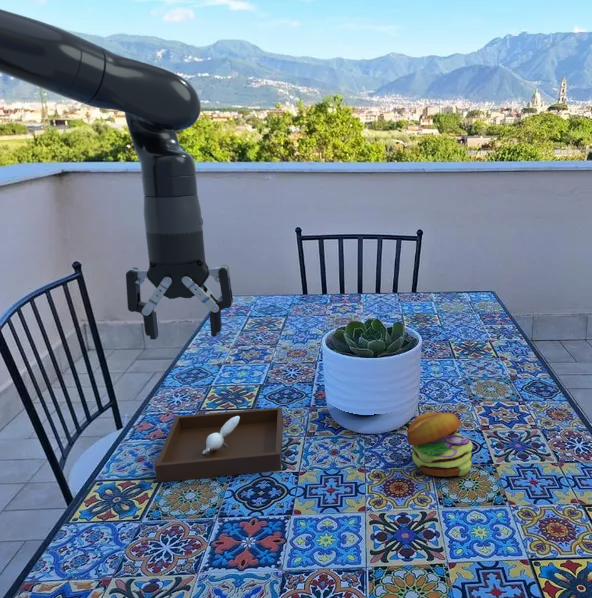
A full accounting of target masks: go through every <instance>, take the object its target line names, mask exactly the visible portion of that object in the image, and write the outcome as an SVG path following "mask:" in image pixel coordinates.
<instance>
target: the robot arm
mask: <svg viewBox="0 0 592 598" xmlns="http://www.w3.org/2000/svg"><path fill="white" fill-rule="evenodd" d="M0 73H1V74H4V75H5V76H9V77H11V78H14V79H16V80H18V81H19V80H20V81H22V82H25V83H27V84H29V85H32V86H34V87H38V88H40V89H42V90H45V91H47V92H51V93H54V94H56V95H59V96H61V97H64V98H67V99H69V100H72V101H75V102H78V103H81V104H84V105H86V106H89V107H93V108H97V109H101V110H113V111H118V112H122V113H124V117H125V120H126V121H125V122H126V125H127V130H128V132H129V135H130V138H131V142H132V145H133V147H134V148H133V149H134V150H135V153H136V155H137V158H138V161H139V164H140V174H141V184H142V192H143V219H144V229H145V238H146V245H147V255H148V262H149V266H148V269H139V268H138V267H131V268H130V269H129V270H128V271H127V272H126V273H125V283H126V302H127V310H128V311H129V312H131V313H139V314H140V315H142V317H143V326H144V333H145V335H146V337H149V339H150V340H157V339H158V337H159V325H158V317H157V311H155V308H156V306H157V305H158V304H159V302H160V301H161V300H162V298H163V297H165V298H167V299H168V300H175V299H178V298H181V299H192V298H193V297H196V298H197V299H198V300H199V301H200V303H203V304H204V305H205V306H206V307H207V308H208V309H209V310H210V311H209V313H208V314H209V324H210V336H211V337H212V338H213V337H217V336H218V334H219V333H221V330H222V328H223V322H222V310H224V309H229V308H231V307H232V304H233V302H234V298H233V290H232V282H231V276H230V269H229V266H228V265H226V264H222V265H221V266H218V267H209V266H208V264H207V262H206V254H205V253H206V252H205V241H204V230H203V225H204V220H203V217H202V209H201V205H200V200H199V195H198V182H197V171H196V165H195V160H194V157H193V156H192V155H191V154H190V153H189V152H188V151H185V150H183V149H182V147H181V145H180V141H179V137H178V134H177V132H181V131H185V130H187V129H189V128H191V127H192V126H193V125H194V124H195V123H197V121H198V119H199V118H200V115H201V111H202V104H201V98H200V96H199V94H198V92H197V90H196V89H195V88H194V86H193V85H192V84H191V83H190V82H189V81H188V80H186V79H185V78H184V77H182V76H181V75H180V74H177V73H174V72H173V71H170V70H167V69H165V68H162V67H159V66H156V65H152V64H149V63H146V62H143V61H140V60H137V59H134V58H129V57H126V56H122V55H120V54H117V53H114V52H112V51H110V50H108V49H106V48H105V47H103V46H101V45H98V44H96V43H94V42H91V41H89V40H87V39H85V38H83V37H80V36H78V35H76V34H74V33H72V32H69V31H67V30H65V29H62V28H60V27H58V26H55V25H53V24H50V23H47V22H44V21H41V20H38V19H34V18H32V17H29V16H28V17H27V16H24V15H22V14H18V13H14V12H11V11H7V10H5V9H1V8H0ZM210 276H211V277H212V278H213V279H214V281H215V282H216V283H219V286H220V293H221V299H218V298H217V297H216V296H215V295H214V293H213V292H212V291H211V289H210V288H209V287H208V286H207V285H206V284H205V283H206V281H207V279H209V277H210ZM146 278H147V280H148V281H149V282H150V283H151V284H152V285H153V286H154V287H155V288H156V289H155V290H154V291H153V293H152V294H151V296H150V297H149V299H148V301H147V302H144V301H142V296H141V285H143V283H144V282H145V280H146Z"/></svg>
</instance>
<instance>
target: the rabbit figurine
mask: <svg viewBox="0 0 592 598" xmlns="http://www.w3.org/2000/svg"><path fill="white" fill-rule="evenodd" d="M239 419H240V417H239V416H235V417H233V418H231V419H230V420H228V421H227V422H226V423H225V424H224V425H223V427H222V428H221V431H220V433H213V434H210V435H209V436H208V437H207V440H206V446H207V447H206V450H204V451H203V453H202V454H206V453H207V452H209V450H217V449H219V448H220V447H221V446H222V444H223V441H224V438H223V437H224V436H226V435H227V434H229V433H230V432H232V431H233V430H234V428H235V427H236V426H237V424H238V422H239ZM224 445H226V446H227V447H228V445H227V444H225V443H224Z"/></svg>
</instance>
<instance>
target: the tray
mask: <svg viewBox="0 0 592 598" xmlns="http://www.w3.org/2000/svg"><path fill="white" fill-rule="evenodd" d="M235 416H239V417H240V419H239V422H238V424H237V426H236V427H235V428H234V430H233V431H232V432H230V433H229V434H227V435H226V436H224V437H223V438H224V441H223V444H222V446H221V447H220V448H219V449H217V450H209V452H207V453H206V454H202V453H203V451H204V450H206V447H207V446H206V440H207V437H208V436H209V435H210V434H213V433H220V431H221V428H222V427H223V425H224V424H225V423H226V422H227V421H228V420H230V419H231V418H233V417H235ZM283 435H284V412H283V407H281V406H280V407H268V408H257V409H247V410H234V411H233V410H232V411H223V412H208V413H197V414H187V415H176V416H174V419H173V422H172V424H171V425H170V429H169V431H168V434H167V436H166V438H165V441H164V444H163V445H162V447H161V450H160V452H159V455H158V456H157V459H156V462H155V465H154V469H155V470H154V471H155V476H156V477H155V478H156V483H157V484H158V483H168V482H178V481H187V480H188V481H189V480H196V479H207V478H216V477H217V478H218V477H227V476H236V475H237V476H239V475H247V474H257V473H258V474H259V473H267V472H268V473H269V472H276V471H277V472H278V471H282V462H283V461H282V459H283ZM224 443H225V444H227V445H228V447H227V446H226V445H224Z"/></svg>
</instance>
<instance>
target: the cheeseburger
mask: <svg viewBox="0 0 592 598" xmlns="http://www.w3.org/2000/svg"><path fill="white" fill-rule="evenodd" d="M461 425H462V423H461V421H460V419H459V418H458V417H457V415H456V414H454V413H448V412H426V413H422V414H420V415H418V416H416V417H415V418H414V419H413V421H412V422H411V423H410V425H409V427H408V429H407V431H406V432H407V433H406V440H407V444H409V445H411V449H412V453H411V458H412V461H413V463H414V465H416V466H417V468H418V470H419V471H420V472H422V473H423V474H425V475H428V476H433V477H454V476H458V477H463V476H466V475H467V474H469V472H470V471H471V469H472V452H473V451H472V450H473V448H474V447H473V446H474V444H473V443H472V441H471V440H470V439H469V437H467V436H466V435H463V434H461V433H459V432H460V431H461Z"/></svg>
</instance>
